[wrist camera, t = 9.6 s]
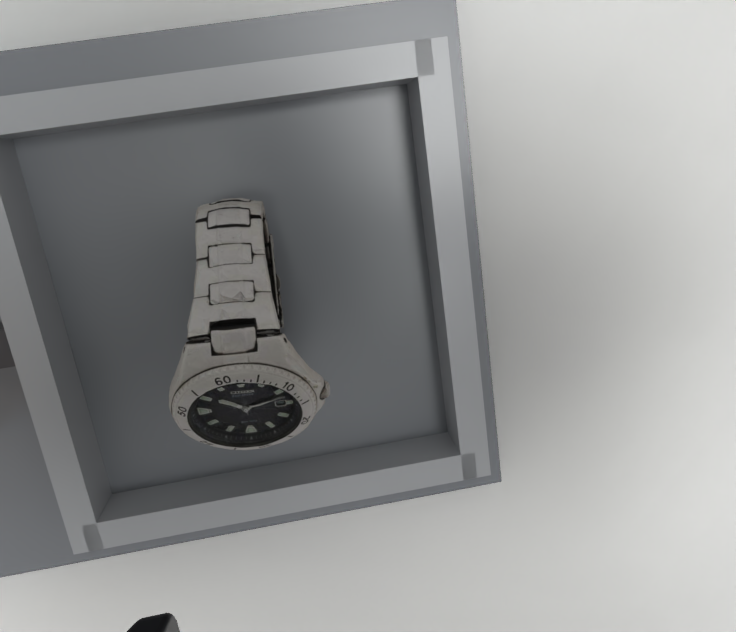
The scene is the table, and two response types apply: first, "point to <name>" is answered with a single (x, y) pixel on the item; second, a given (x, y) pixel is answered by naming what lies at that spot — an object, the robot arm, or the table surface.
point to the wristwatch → (240, 340)
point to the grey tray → (292, 263)
